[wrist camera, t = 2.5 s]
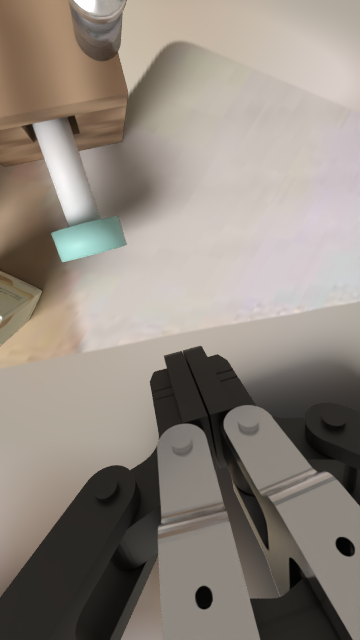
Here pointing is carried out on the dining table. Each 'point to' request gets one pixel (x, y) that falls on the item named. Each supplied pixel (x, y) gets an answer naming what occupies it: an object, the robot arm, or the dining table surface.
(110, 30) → the dial post
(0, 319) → the skincare box
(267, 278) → the dining table surface
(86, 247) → the knob
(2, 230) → the dining table surface
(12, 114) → the mount
